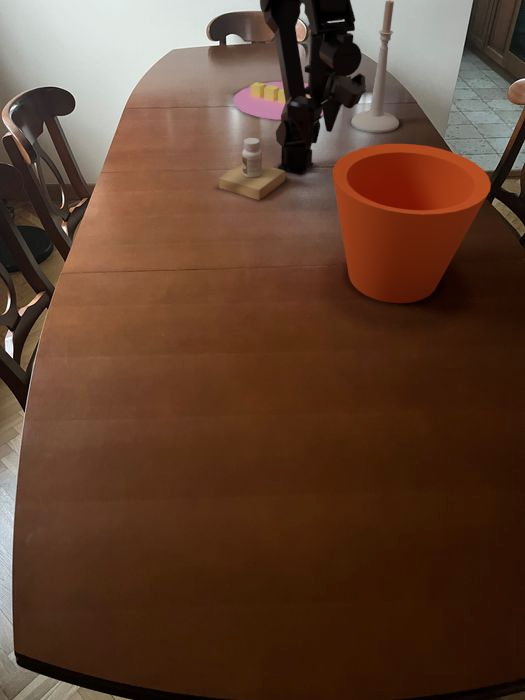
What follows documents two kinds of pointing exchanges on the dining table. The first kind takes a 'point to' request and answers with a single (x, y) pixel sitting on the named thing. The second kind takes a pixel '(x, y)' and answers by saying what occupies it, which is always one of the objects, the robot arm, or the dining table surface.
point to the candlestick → (379, 87)
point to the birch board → (252, 181)
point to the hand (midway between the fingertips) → (319, 138)
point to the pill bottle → (252, 158)
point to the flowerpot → (404, 216)
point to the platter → (263, 100)
